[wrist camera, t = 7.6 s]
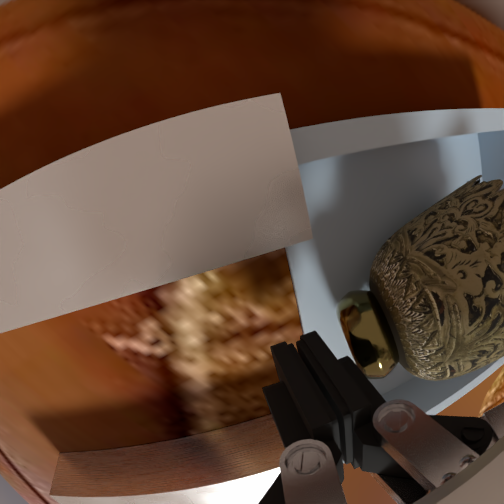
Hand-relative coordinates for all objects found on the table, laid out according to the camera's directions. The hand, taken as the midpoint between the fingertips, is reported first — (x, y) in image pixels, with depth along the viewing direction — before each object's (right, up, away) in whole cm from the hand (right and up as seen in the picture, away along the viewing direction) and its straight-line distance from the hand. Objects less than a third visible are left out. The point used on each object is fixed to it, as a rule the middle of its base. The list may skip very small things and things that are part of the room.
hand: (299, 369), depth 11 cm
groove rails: (-7, -1, +2) cm, 7 cm away
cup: (+2, +1, +1) cm, 2 cm away
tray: (+7, +3, +4) cm, 8 cm away
